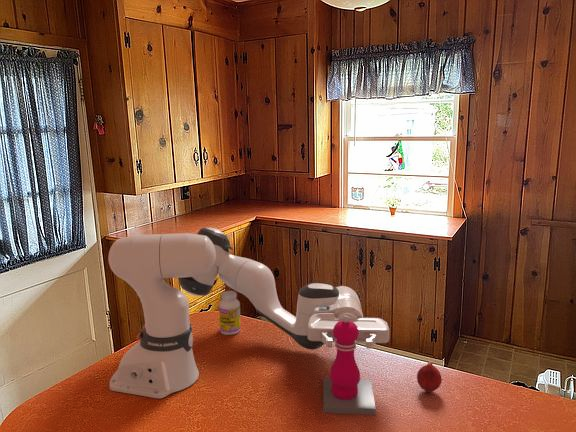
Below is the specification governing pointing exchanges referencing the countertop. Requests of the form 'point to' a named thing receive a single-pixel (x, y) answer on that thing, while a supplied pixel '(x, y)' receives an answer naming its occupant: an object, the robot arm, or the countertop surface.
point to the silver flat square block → (349, 400)
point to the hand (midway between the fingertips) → (349, 345)
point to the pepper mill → (345, 360)
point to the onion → (429, 377)
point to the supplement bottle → (229, 313)
